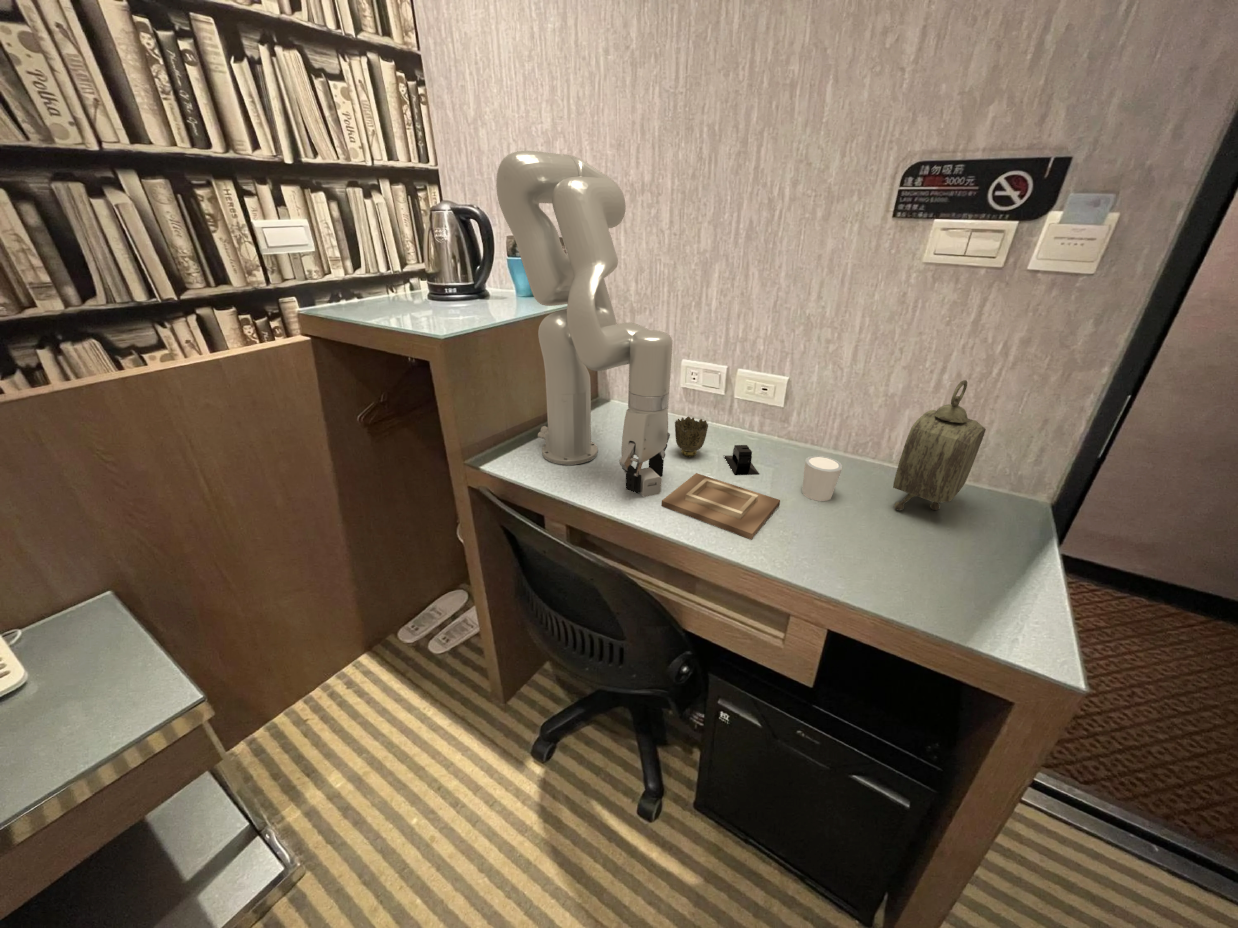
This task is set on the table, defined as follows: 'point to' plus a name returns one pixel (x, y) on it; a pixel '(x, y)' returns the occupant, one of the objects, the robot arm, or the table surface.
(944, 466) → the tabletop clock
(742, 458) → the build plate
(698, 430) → the cup
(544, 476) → the table surface
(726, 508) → the jig board
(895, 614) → the table surface
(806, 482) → the beige short cylinder
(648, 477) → the usb wall charger
